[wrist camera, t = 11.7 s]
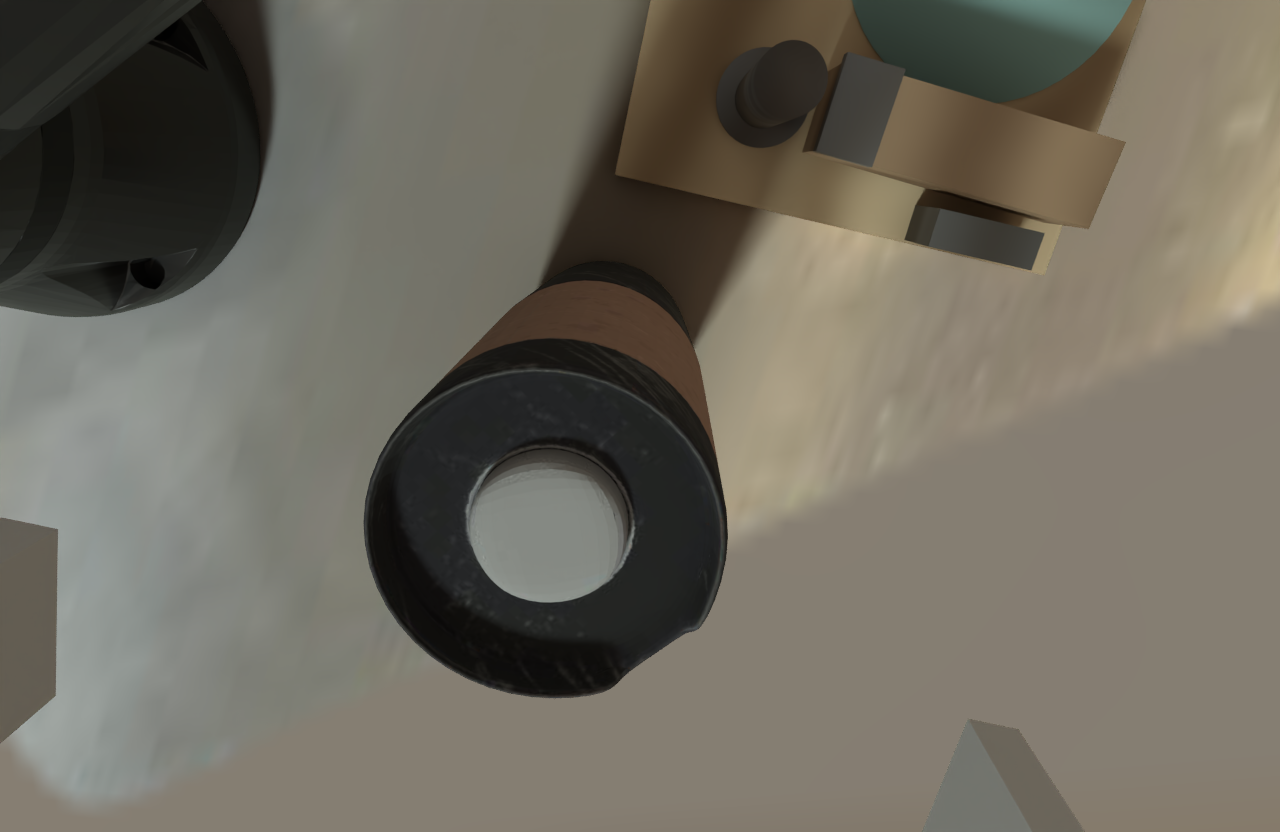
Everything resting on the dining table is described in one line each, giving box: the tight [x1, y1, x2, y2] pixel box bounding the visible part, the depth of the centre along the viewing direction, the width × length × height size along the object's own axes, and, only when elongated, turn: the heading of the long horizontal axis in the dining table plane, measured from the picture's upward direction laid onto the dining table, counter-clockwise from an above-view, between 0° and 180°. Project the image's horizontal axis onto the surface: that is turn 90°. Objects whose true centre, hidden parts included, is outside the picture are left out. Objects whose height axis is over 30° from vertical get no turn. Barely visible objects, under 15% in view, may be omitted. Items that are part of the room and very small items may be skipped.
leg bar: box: [802, 52, 1126, 229], centre depth 29 cm, size 10×3×4 cm, turn 75°
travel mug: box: [364, 261, 728, 698], centre depth 26 cm, size 8×8×20 cm
